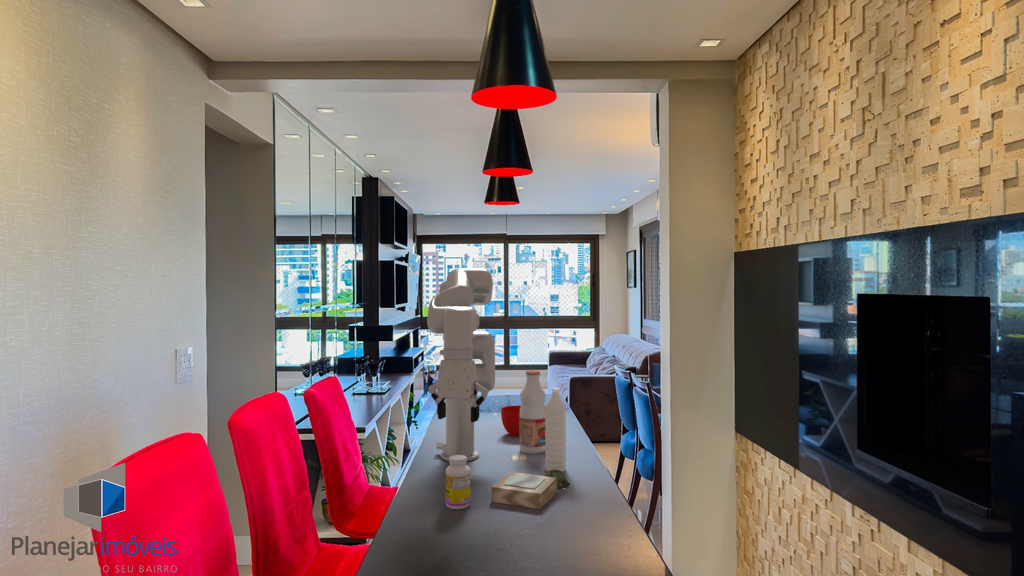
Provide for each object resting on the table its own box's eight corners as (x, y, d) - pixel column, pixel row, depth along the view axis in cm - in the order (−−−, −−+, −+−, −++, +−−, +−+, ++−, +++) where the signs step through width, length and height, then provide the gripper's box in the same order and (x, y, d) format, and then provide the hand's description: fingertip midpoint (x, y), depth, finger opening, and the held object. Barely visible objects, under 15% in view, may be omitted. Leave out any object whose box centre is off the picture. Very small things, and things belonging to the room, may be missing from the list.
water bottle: (565, 473, 187) (565, 393, 187) (544, 472, 188) (544, 392, 187) (566, 465, 196) (566, 388, 195) (546, 464, 196) (546, 387, 196)
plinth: (491, 501, 163) (491, 485, 163) (511, 485, 176) (511, 470, 176) (540, 509, 158) (540, 492, 157) (557, 491, 170) (557, 476, 170)
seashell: (533, 473, 174) (543, 464, 184) (532, 487, 174) (542, 477, 184) (567, 480, 171) (575, 470, 180) (565, 494, 171) (574, 483, 180)
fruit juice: (520, 446, 218) (520, 369, 217) (546, 447, 217) (546, 369, 217) (518, 454, 208) (518, 373, 208) (546, 454, 208) (546, 373, 207)
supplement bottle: (445, 501, 163) (445, 453, 163) (470, 500, 164) (470, 453, 163) (445, 510, 156) (445, 461, 156) (470, 509, 157) (470, 460, 157)
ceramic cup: (545, 431, 241) (545, 406, 241) (523, 440, 226) (523, 413, 226) (517, 427, 248) (517, 402, 248) (494, 435, 233) (494, 409, 233)
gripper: (422, 355, 159) (422, 419, 159) (481, 357, 153) (481, 425, 153) (436, 352, 166) (436, 414, 166) (493, 355, 160) (493, 419, 160)
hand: (458, 419), depth 160 cm, fingers open, 9 cm apart
